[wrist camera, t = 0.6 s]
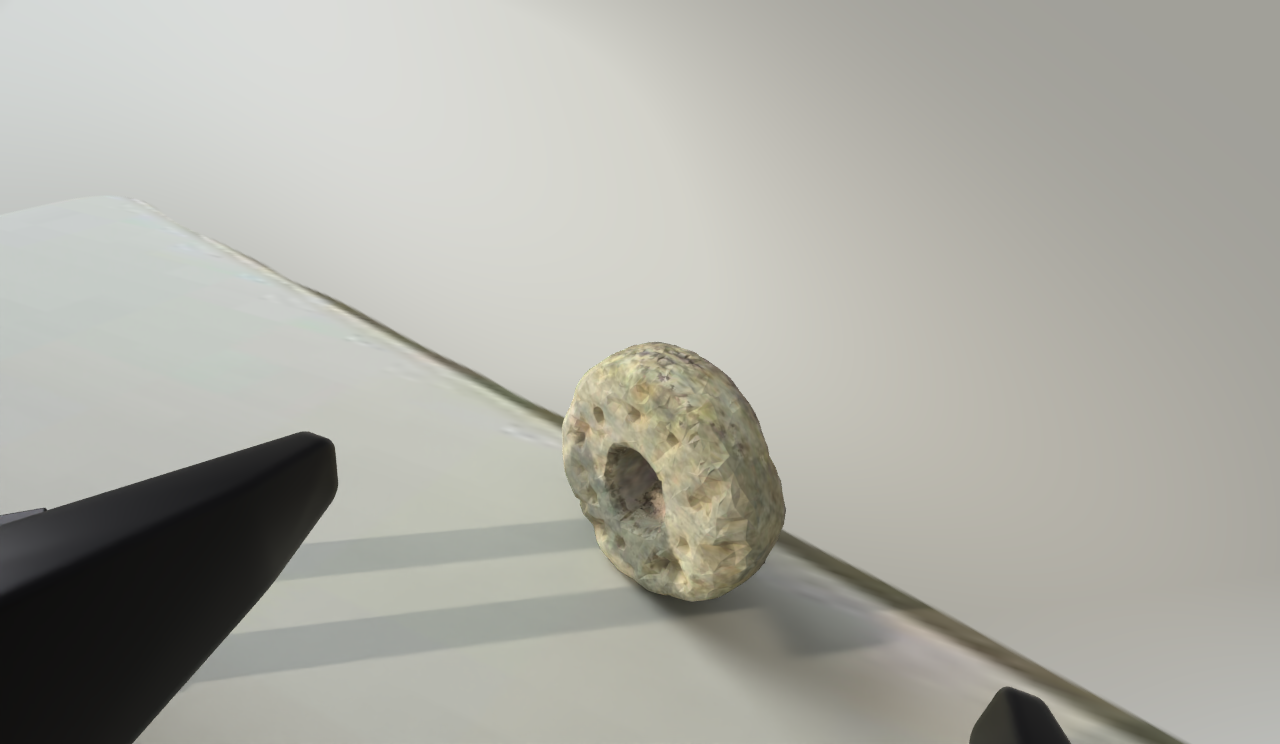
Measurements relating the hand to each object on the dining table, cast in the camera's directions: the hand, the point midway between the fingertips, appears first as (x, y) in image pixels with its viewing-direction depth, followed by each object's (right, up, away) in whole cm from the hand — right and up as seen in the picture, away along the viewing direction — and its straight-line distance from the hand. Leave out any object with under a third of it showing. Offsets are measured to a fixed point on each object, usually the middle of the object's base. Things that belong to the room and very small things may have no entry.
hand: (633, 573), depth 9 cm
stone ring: (0, -6, +22) cm, 23 cm away
